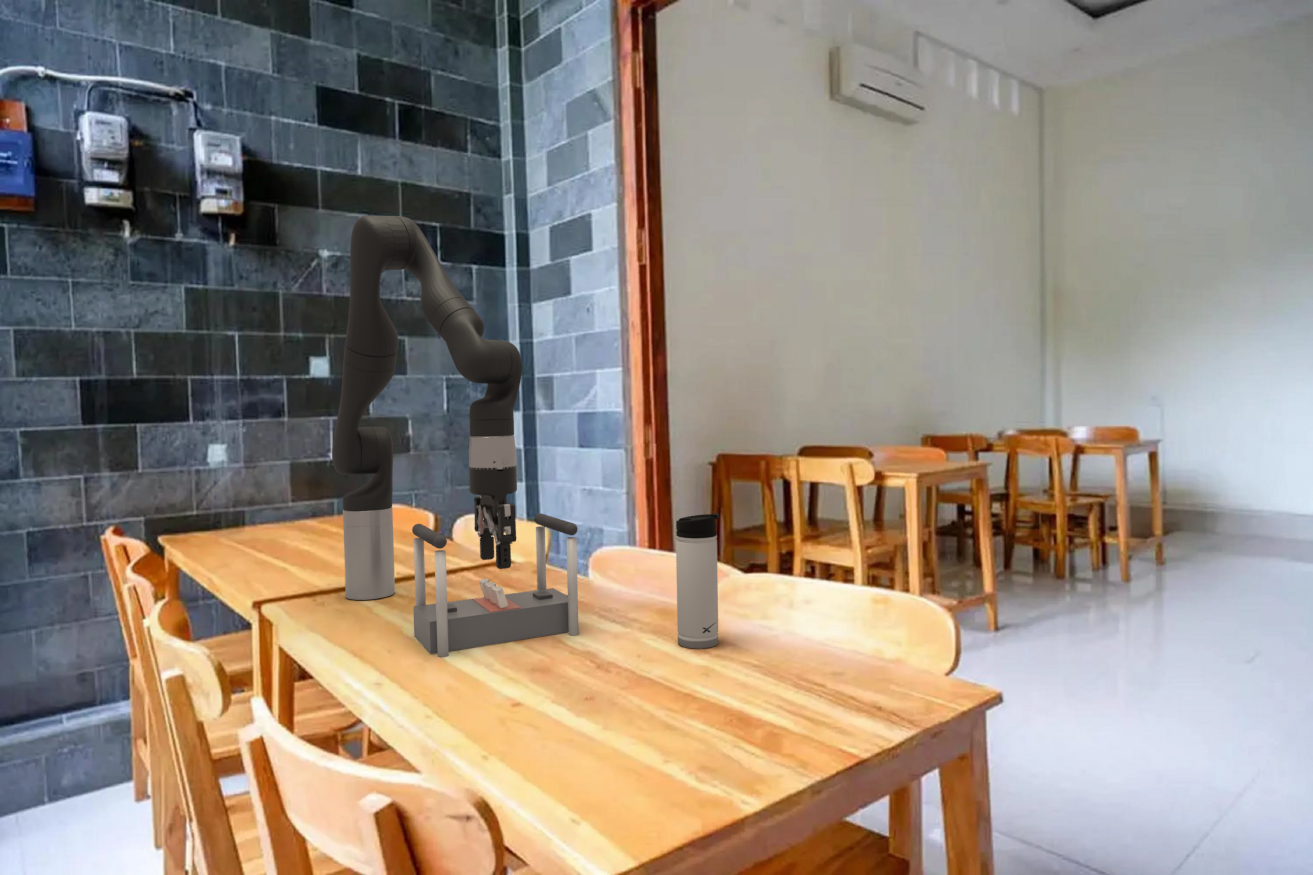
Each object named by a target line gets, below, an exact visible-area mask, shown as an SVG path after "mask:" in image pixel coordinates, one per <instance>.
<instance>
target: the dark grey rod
mask: <svg viewBox="0 0 1313 875" xmlns="http://www.w3.org/2000/svg"><path fill="white" fill-rule="evenodd" d="M534 522H535V523H536V524H537V525H539V526H544V527H545V528H548V529H551V530H553V531H556V532H559V533H562V534H564V535H567V536H574V535H576V534H577V533H578V525H577V524H576V523H574V522H570V521H568V520H564V519H562V518H557V517H554V516H552V515H547V514H544V513H537V514H536V515H534Z"/></svg>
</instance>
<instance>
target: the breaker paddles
mask: <svg viewBox="0 0 1313 875" xmlns="http://www.w3.org/2000/svg"><path fill="white" fill-rule="evenodd" d="M478 582H479V585H480V589H481V591H482V595H483V597H484V598H486V599H487V600H488V599H490V602H492V603H493V604H495V603H496V604H497V606H498V607H499V608H504V607H506V606H508V604H507V601H506V597H505V594H506V593H505V590H504V588H503V587H502V586H500V585H498V586H497V583H495V582H493V581H490V579H488V578H487V577H485V578H482V579H479V580H478Z"/></svg>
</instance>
